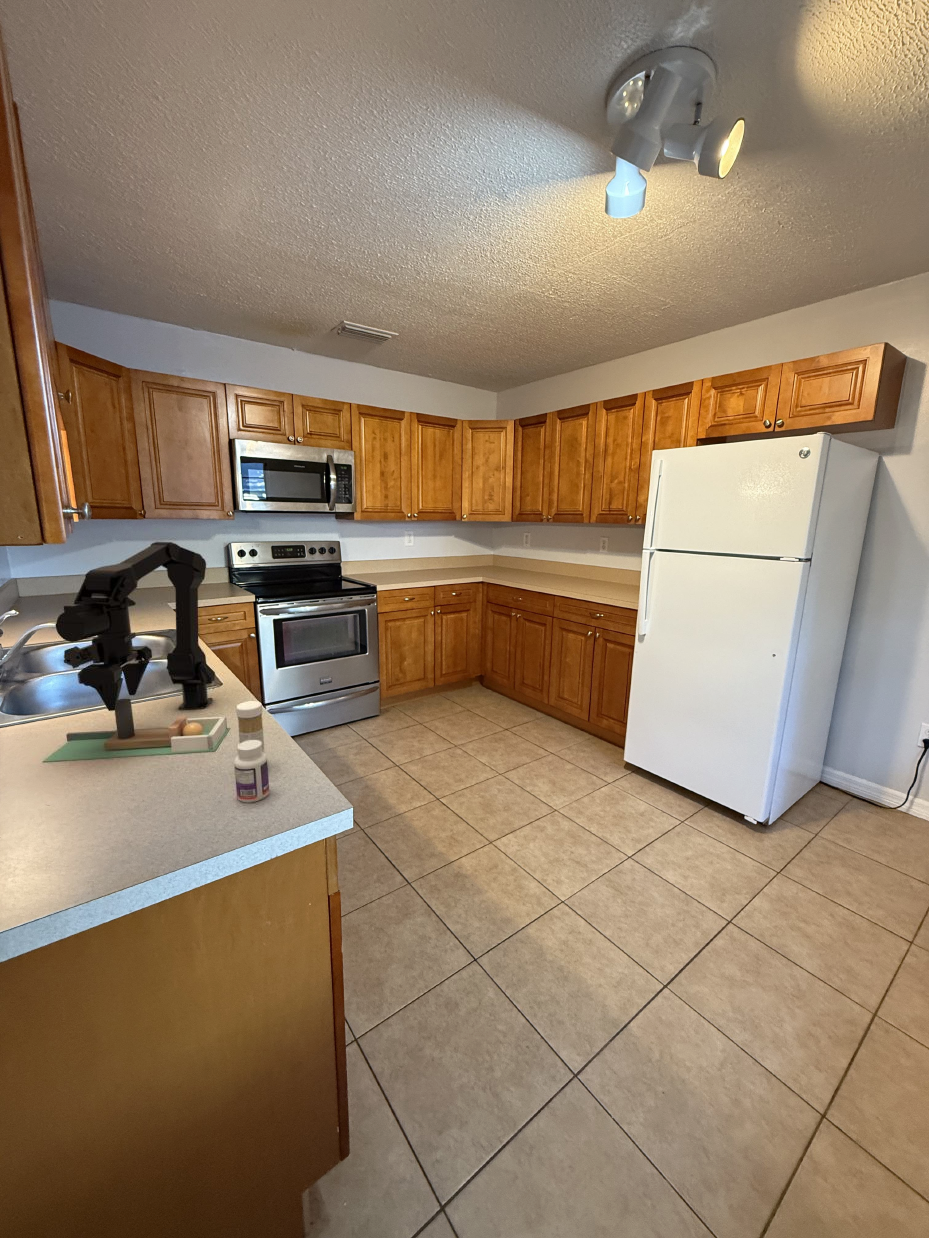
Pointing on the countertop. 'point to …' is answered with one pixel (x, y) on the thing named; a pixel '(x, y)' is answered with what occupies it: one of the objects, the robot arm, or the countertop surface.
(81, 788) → the countertop surface
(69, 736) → the guide rail
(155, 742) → the striker sled
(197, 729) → the foosball
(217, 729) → the box
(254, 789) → the pill bottle
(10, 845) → the countertop surface
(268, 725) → the countertop surface
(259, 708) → the sprinkles bottle
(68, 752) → the mat
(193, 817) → the countertop surface
